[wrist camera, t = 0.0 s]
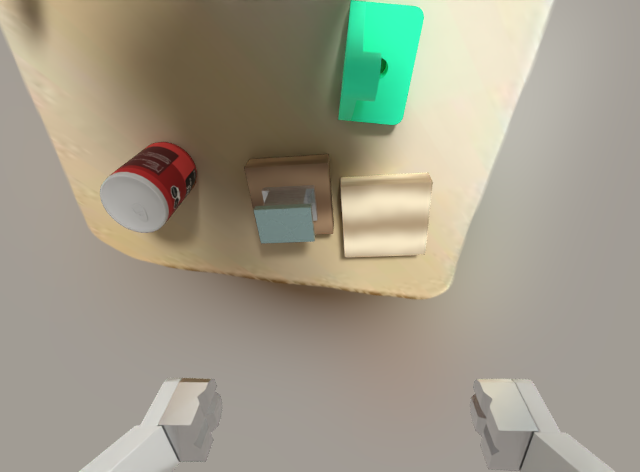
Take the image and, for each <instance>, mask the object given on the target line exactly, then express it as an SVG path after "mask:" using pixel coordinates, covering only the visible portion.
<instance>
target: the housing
mask: <svg viewBox="0 0 640 472" xmlns="http://www.w3.org/2000/svg"><path fill="white" fill-rule="evenodd" d="M262 195H263V200H264V205H263V206H255V208H254V214H255V218H256V223H257V227H258V232H259V236H260V240H261V243H285V242H311V241H315V231H314V222H313V221H317V218H318V215H317V206H316V196H315V187H314V185H304V186H286V187H267V188H263V189H262Z"/></svg>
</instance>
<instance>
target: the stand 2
mask: <svg viewBox="0 0 640 472" xmlns="http://www.w3.org/2000/svg"><path fill="white" fill-rule="evenodd" d="M432 184H433V182H432V180H431V177H430V175H429V173H428V172H427V173H409V174H391V175H373V176H355V177H341V202H342V218H343V235H344V251H345V257H374V256H405V255H425V251H426V241H427V232H428V222H429V213H430V203H431V193H432Z"/></svg>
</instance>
